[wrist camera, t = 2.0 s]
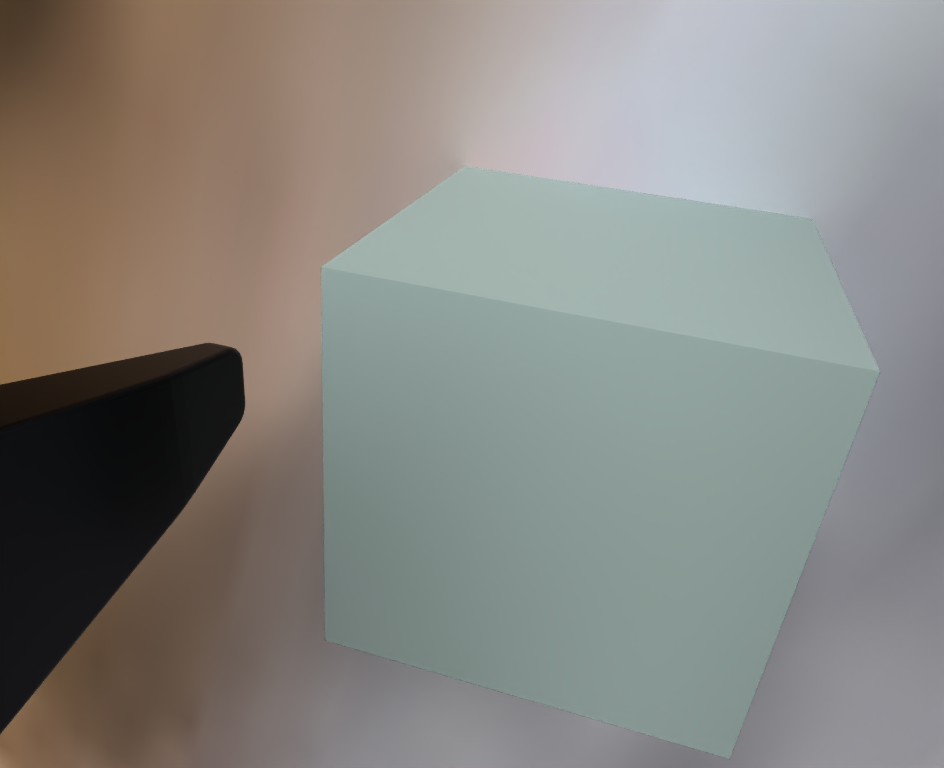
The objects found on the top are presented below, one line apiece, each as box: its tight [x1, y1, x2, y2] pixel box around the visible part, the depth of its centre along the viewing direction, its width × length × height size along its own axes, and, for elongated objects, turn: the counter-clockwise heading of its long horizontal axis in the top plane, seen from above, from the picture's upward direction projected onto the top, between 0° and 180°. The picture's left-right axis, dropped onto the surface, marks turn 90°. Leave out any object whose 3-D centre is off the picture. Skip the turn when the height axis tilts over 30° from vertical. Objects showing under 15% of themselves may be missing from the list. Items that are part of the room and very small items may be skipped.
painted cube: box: [321, 166, 880, 759], centre depth 10 cm, size 5×5×5 cm
